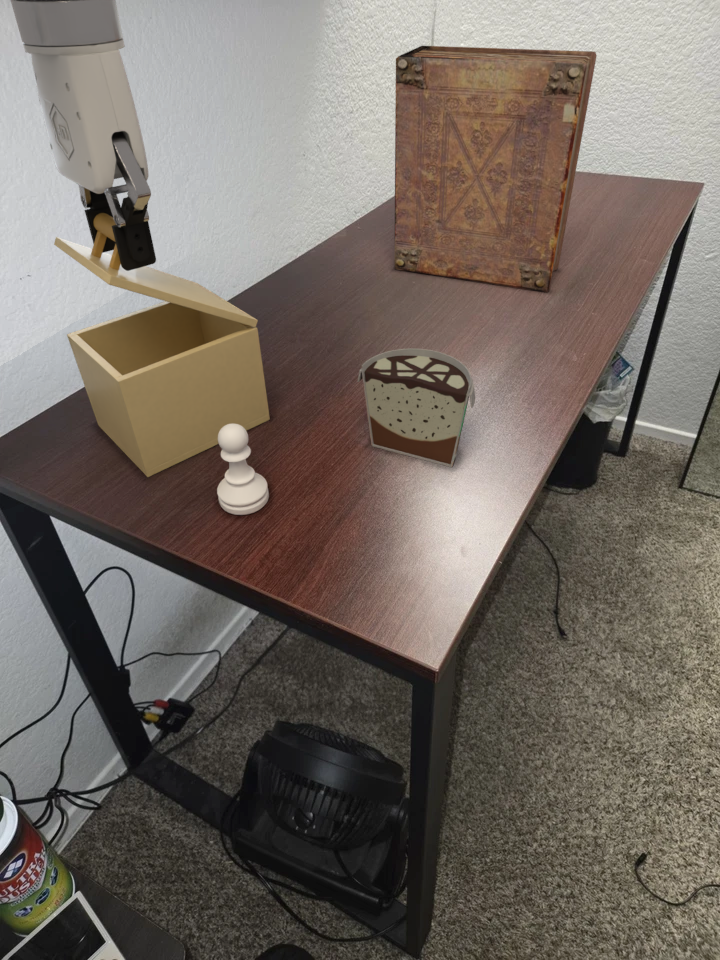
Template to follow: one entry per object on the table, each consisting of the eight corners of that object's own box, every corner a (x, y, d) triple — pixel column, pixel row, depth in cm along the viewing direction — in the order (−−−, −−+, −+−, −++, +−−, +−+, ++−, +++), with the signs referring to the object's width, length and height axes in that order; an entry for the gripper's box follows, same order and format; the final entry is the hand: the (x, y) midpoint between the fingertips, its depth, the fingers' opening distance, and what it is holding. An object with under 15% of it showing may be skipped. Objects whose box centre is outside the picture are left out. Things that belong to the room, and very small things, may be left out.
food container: (483, 438, 73) (492, 359, 66) (465, 471, 69) (474, 390, 62) (381, 413, 77) (381, 336, 71) (359, 442, 73) (356, 364, 66)
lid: (108, 284, 56) (124, 229, 55) (53, 244, 64) (66, 195, 62) (255, 327, 69) (272, 283, 67) (195, 289, 76) (209, 249, 75)
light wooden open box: (147, 477, 69) (118, 381, 62) (98, 425, 77) (66, 334, 69) (270, 419, 77) (257, 327, 69) (214, 377, 84) (197, 290, 76)
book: (559, 269, 107) (599, 51, 87) (548, 293, 100) (588, 63, 81) (412, 249, 115) (418, 45, 95) (393, 269, 108) (395, 55, 89)
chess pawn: (277, 504, 66) (267, 431, 60) (230, 522, 64) (215, 449, 58) (257, 476, 69) (245, 405, 63) (212, 493, 67) (195, 421, 61)
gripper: (-15, 22, 54) (53, 243, 66) (65, 40, 44) (128, 296, 56) (74, 16, 58) (123, 226, 70) (166, 31, 48) (206, 273, 59)
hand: (125, 255), depth 62 cm, fingers closed on lid, 5 cm apart
